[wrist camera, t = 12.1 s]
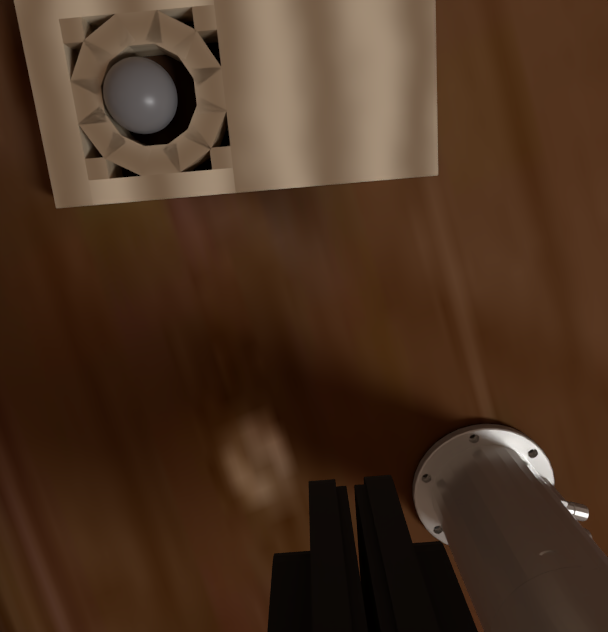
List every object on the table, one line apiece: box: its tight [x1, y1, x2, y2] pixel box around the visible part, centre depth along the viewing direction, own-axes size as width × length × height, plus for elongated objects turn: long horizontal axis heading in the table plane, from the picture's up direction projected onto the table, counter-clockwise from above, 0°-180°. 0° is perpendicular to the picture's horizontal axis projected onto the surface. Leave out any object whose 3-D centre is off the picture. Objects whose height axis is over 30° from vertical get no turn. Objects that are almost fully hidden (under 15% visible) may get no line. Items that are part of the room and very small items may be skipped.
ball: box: [103, 57, 178, 134], centre depth 35 cm, size 5×5×5 cm
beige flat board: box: [14, 0, 438, 208], centre depth 36 cm, size 28×14×3 cm, turn 95°
